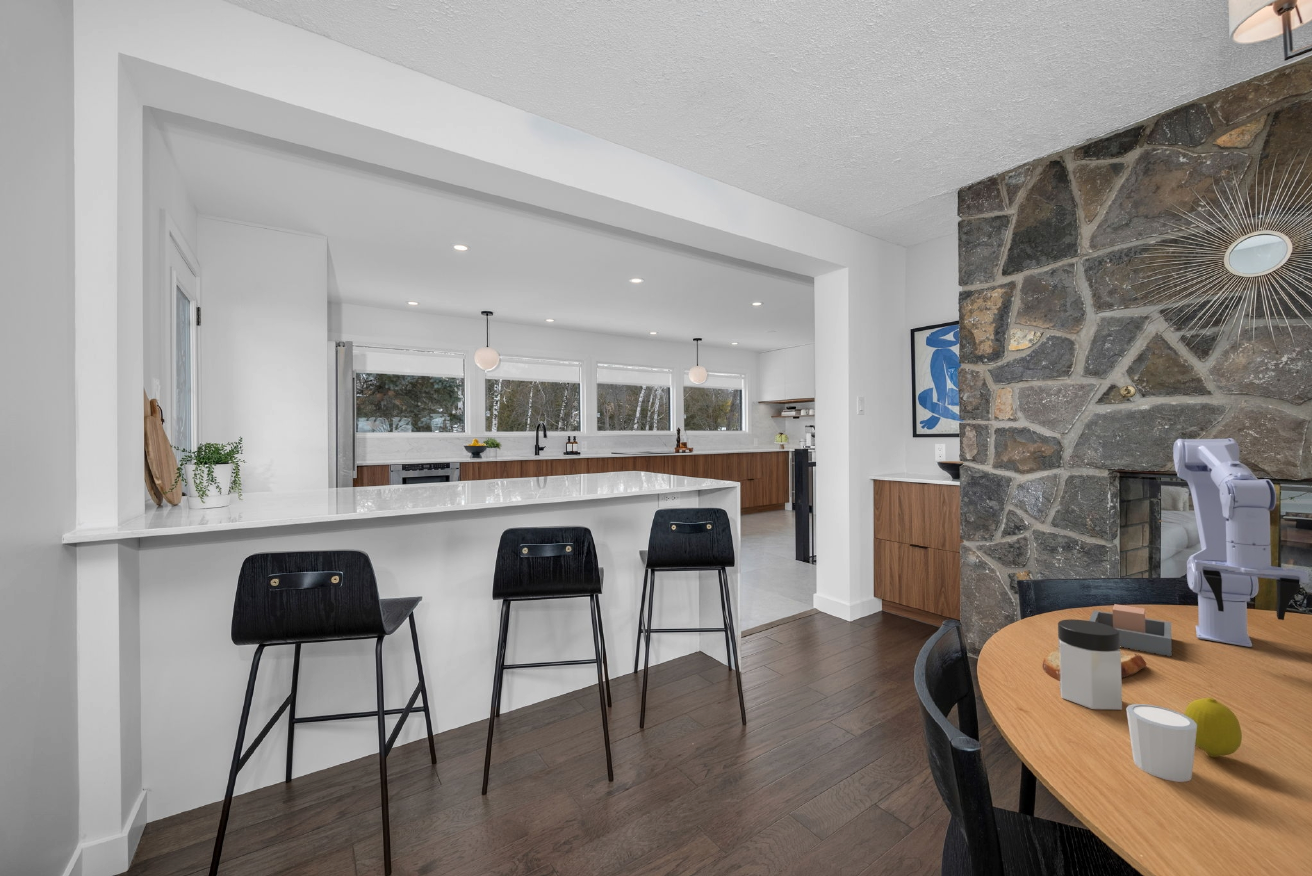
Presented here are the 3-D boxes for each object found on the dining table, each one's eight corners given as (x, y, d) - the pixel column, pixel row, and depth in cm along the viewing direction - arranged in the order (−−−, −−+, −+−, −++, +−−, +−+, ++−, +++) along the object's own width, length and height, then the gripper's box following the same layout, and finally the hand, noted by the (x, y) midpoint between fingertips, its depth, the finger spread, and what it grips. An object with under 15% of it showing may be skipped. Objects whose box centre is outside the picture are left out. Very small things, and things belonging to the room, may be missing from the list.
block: (1115, 631, 120) (1114, 604, 120) (1145, 636, 117) (1144, 608, 117) (1113, 637, 116) (1112, 609, 116) (1144, 643, 113) (1144, 614, 113)
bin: (1094, 625, 126) (1093, 610, 126) (1171, 638, 117) (1170, 622, 117) (1087, 640, 116) (1087, 624, 116) (1171, 656, 107) (1171, 638, 107)
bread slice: (1052, 684, 97) (1051, 663, 97) (1025, 648, 114) (1025, 630, 114) (1181, 700, 91) (1180, 677, 91) (1133, 659, 108) (1132, 640, 108)
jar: (1135, 704, 89) (1133, 630, 89) (1108, 716, 85) (1106, 639, 85) (1073, 682, 97) (1071, 615, 97) (1046, 692, 93) (1044, 622, 93)
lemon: (1254, 770, 71) (1253, 709, 71) (1204, 766, 72) (1202, 705, 72) (1220, 747, 76) (1218, 690, 76) (1174, 743, 77) (1172, 687, 77)
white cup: (1113, 755, 75) (1112, 704, 75) (1159, 751, 75) (1158, 701, 75) (1164, 786, 68) (1163, 730, 68) (1214, 782, 69) (1212, 727, 69)
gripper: (1195, 541, 106) (1196, 611, 106) (1311, 550, 96) (1313, 628, 96) (1193, 536, 111) (1195, 603, 111) (1303, 544, 101) (1305, 618, 101)
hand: (1249, 614), depth 103 cm, fingers open, 7 cm apart
